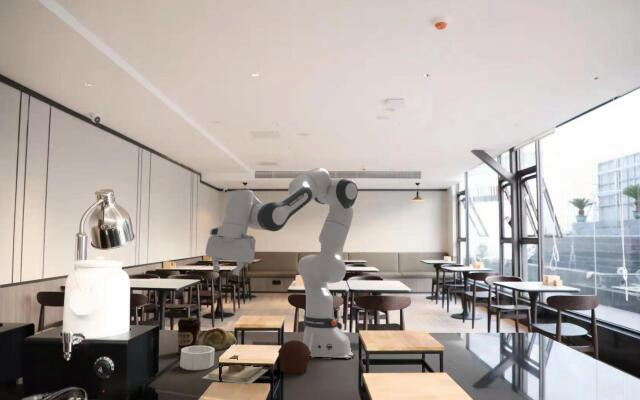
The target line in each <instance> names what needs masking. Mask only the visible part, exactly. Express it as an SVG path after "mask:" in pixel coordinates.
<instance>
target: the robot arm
mask: <svg viewBox="0 0 640 400" xmlns="http://www.w3.org/2000/svg"><path fill="white" fill-rule="evenodd" d="M358 192H359V189H358V186H357V184H356V181H354V180H352V179H350V178H331V176H330V173H329V171H327V170H326V169H325V168H324V167H316V168H312V169H310V170H307V171H306V172H302V173H300V175H298V176H296V177H295V178H294V179H292V180H291V181H290V182H289V184H288V193H289V196H286V197H285V198H284V199H283V200H281V201H273V202H262V201H260V200H259V199H258V198H257V196H256V195H255V194H254V192H253V190H251V189H248V188H236V189H233V190H231V191H230V194H229V195H228V199H227V201H226V206H225V209H224V211H225V213H224V214H225V216H224V219H223V220H222V225H220V226H217V227H214V228H211V229H210V230H209V235H210V236H209V237H208V239H207V243H206V247H205V256H206V257H210V258H211V259H212V260H211V262H212V265H213V266H212V271H213V272H217V273H219V272H220V269H221V266H220V265H219V262H220V260H228V261H234V262H236V267H235V269H232V275H233V276H239V275H240V272H241V270H242V269H243V267H244V265H245V263H247V264H252V263H253V262H254V261H255V253H256V241H257V240H256V238H255V237H254V236H253V235H247V234H248V228H250V229H253V230H260V231H261V230H262V231H268V232H278V231H280V230H282V229H283V228H284V227H285V225H286V224H287V222H288V221H289V219H290V218H291V217H292V216H293V215H295V214H296V213H298V212H299V211H300V210H301V209H303V208H304V207H305V206H306V205H307V204H309V202H311V201H315V203H318V204H321V205H329V210H328V213H327V216H326V218H325V221H323V222H324V223H323V226H322V228H321V230H320V233H319V236H318V241H319V244H320V252H319V254H309V255H305V256H303V257H301V258H300V259H299V261H298V264H297V271H298V274H299V275H300V277H301V279H302V282H303V286H304V291H305V315H304V318H303V329H304V330H303V338H302V342H303V343H304V344H306V345H307V346H308V348H309V350H310V351H311V354H310V356H324V357H350V356H348V355H353V353H352V352H351V349H352V347H351V342H350V339H349V336H348V335H346V334H345V333H344V332H343V331H342V330H341V329H340V328H339V327H338V318H335V317H334V316H333V313H334V312H333V311H334V309H333V308H334V307H333V306H334V297H333V295H332V293H331V292H330V290H329V287H328V284H336V283H339V282H342V281H343V279H344V278H345V276H346V273H347V267H346V262H344V258H343V257H344V255H343V254H344V246H345V243H346V240H347V237H348V234H349V232H350V228H351V226H352V223H353V222H352V221H353V215H354V208H353V206H354V204H355V202H356V200H357V197H358V194H359V193H358Z"/></svg>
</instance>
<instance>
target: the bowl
mask: <svg viewBox="0 0 640 400" xmlns="http://www.w3.org/2000/svg"><path fill="white" fill-rule="evenodd" d="M215 350H216V349H215V348H213V347H210V346H202V345H195V346H189V347H185V348H182V349H181V354H180V361H179V367H180V368H181V369H184V370H185V371H186V370H187V371H204V370H207V369H208V370H209V369H210V368H212V367H213V366H215V365H214V364H215V352H216V351H215Z"/></svg>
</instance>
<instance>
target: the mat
mask: <svg viewBox="0 0 640 400" xmlns="http://www.w3.org/2000/svg"><path fill="white" fill-rule="evenodd" d="M268 371H269V369H264V368H263V371H261V372H260V373H259V374H257V375H256V376H255V377H253V378H252V379H251V380H249V381H248V382H241V381H233V380H226V379H222V381H220V380H219V379H218V378H211V377H208V376H209V373H208V374H206V375H204V376H202V379H204V380H205V379H206V380H214V381H219V382H227V383H236V384H242V383H251V384H252V383H253V382H255V381H256V380H258V378H260V377H262V376H263V375H264V374H265V373H267V372H268Z"/></svg>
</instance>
